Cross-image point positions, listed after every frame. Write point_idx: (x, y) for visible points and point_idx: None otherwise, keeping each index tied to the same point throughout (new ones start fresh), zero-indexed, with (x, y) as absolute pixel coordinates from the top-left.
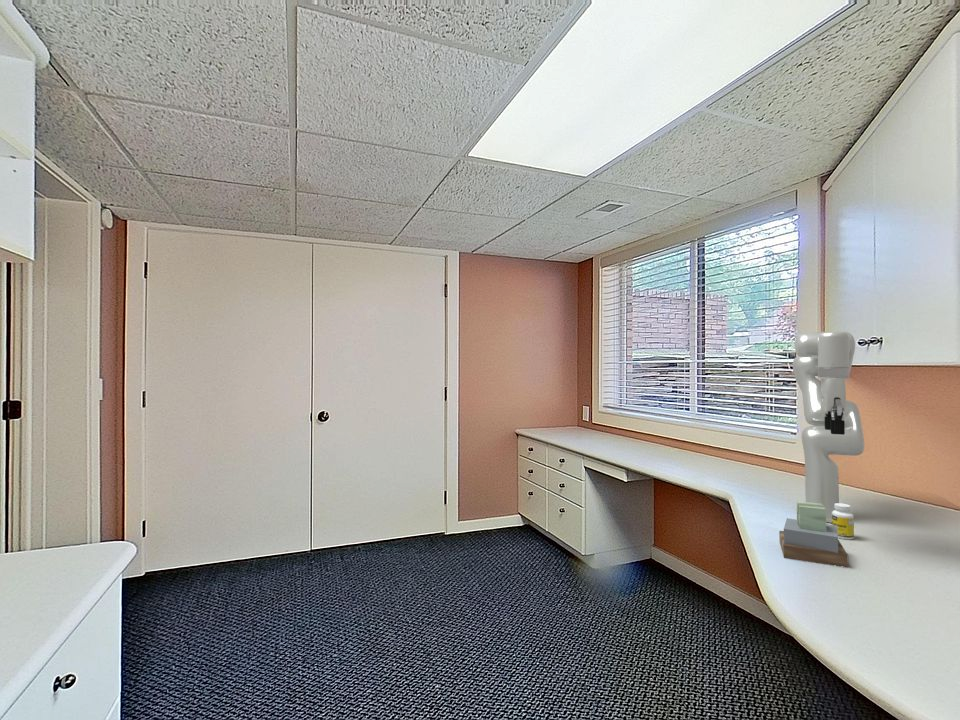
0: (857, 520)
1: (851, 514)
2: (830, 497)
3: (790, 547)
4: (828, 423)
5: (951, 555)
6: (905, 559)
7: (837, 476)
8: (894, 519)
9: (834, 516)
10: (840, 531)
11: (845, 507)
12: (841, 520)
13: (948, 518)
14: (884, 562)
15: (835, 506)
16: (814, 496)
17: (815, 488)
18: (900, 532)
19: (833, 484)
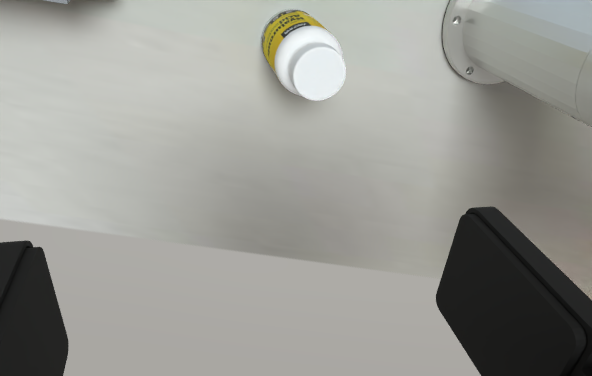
0: (488, 115)
1: (293, 90)
2: (508, 61)
3: None
4: (499, 288)
5: (234, 250)
6: (133, 160)
7: (580, 120)
8: (511, 198)
9: (292, 30)
10: (268, 34)
11: (292, 79)
12: (273, 48)
13: None
14: (61, 104)
15: (311, 46)
16: (528, 4)
17: (550, 15)
18: (395, 191)
19: (546, 91)
